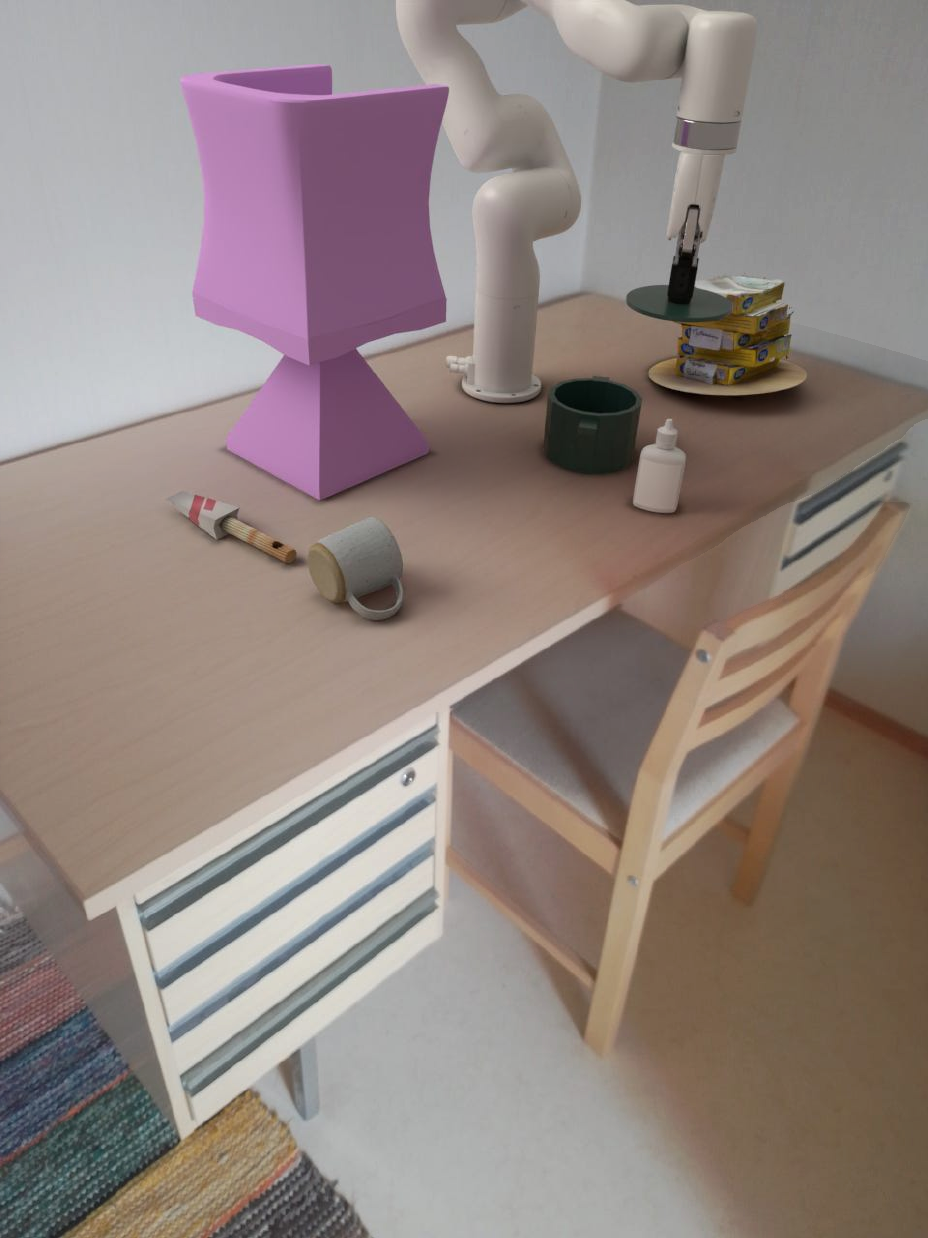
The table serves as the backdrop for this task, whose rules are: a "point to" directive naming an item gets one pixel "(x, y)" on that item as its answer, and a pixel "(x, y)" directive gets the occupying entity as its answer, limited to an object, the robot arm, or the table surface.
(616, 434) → the pot
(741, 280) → the boxes on wooden plate
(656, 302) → the lid
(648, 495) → the eye dropper bottle
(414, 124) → the pink goblet vase
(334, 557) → the ceramic mug
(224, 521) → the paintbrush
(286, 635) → the table surface
